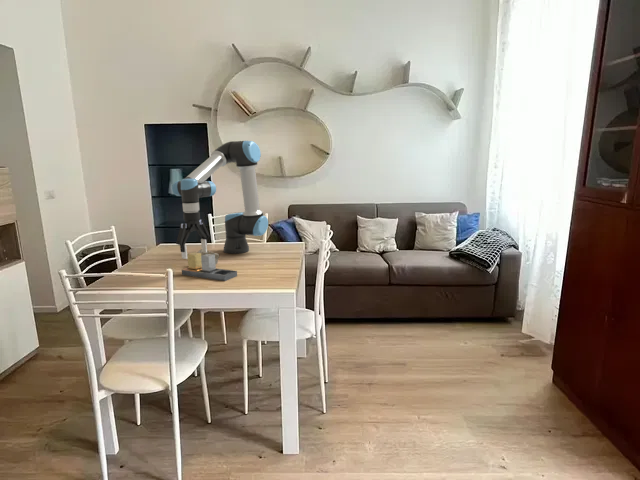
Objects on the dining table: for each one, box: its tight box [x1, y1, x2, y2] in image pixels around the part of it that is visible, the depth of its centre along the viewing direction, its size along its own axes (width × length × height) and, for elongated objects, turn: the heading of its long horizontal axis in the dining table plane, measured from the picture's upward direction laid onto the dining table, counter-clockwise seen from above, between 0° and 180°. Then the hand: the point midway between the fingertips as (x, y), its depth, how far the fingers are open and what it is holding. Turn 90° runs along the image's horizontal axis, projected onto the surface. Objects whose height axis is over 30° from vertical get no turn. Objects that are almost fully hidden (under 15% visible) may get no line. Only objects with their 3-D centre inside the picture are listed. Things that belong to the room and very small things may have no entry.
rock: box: [196, 249, 220, 265], centre depth 219 cm, size 12×7×10 cm, turn 93°
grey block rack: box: [181, 267, 238, 282], centre depth 200 cm, size 9×26×3 cm, turn 64°
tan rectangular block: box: [187, 251, 202, 271], centre depth 204 cm, size 4×4×10 cm
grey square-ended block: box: [201, 254, 217, 273], centre depth 200 cm, size 4×4×10 cm
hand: (194, 255), depth 203 cm, fingers open, 13 cm apart
